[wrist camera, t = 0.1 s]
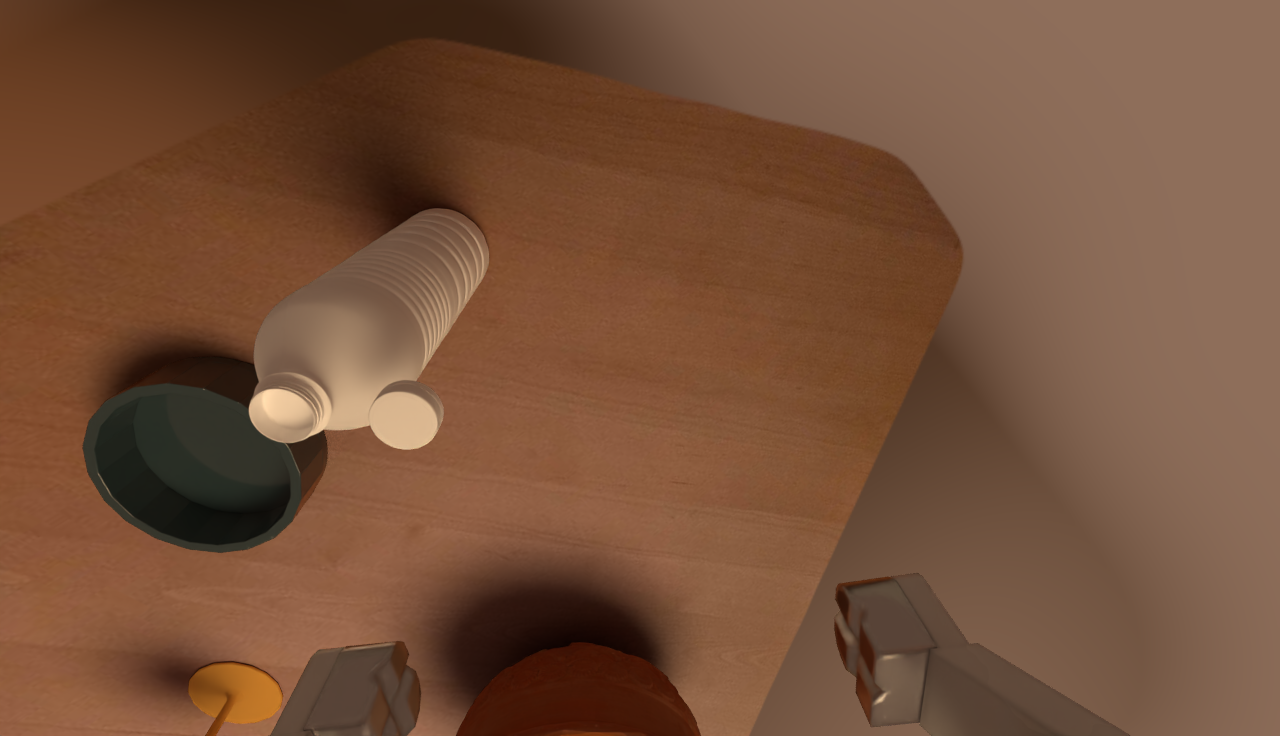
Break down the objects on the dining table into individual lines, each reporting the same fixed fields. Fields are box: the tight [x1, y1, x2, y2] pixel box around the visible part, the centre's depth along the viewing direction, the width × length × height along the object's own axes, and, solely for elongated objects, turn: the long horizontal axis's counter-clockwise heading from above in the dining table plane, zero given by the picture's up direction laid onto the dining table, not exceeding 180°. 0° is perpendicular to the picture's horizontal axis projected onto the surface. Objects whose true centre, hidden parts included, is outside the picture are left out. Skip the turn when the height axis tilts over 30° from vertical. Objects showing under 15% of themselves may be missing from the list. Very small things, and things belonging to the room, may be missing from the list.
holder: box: [83, 357, 327, 553], centre depth 47 cm, size 15×15×5 cm
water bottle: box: [249, 208, 489, 449], centre depth 32 cm, size 9×6×25 cm
